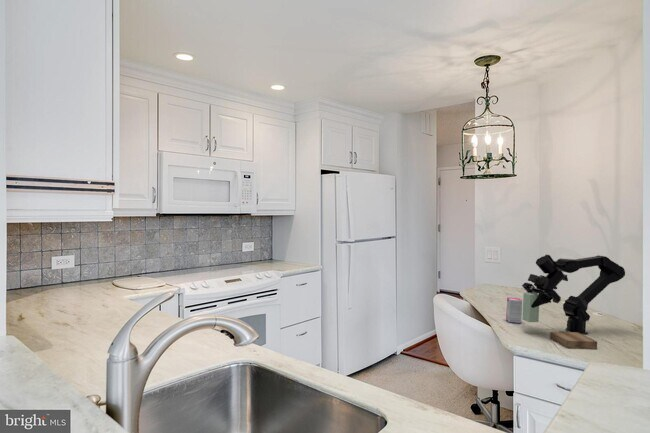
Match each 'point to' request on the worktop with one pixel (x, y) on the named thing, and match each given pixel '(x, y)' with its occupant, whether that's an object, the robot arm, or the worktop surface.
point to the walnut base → (573, 340)
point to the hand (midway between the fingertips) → (528, 305)
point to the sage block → (530, 308)
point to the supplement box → (514, 310)
